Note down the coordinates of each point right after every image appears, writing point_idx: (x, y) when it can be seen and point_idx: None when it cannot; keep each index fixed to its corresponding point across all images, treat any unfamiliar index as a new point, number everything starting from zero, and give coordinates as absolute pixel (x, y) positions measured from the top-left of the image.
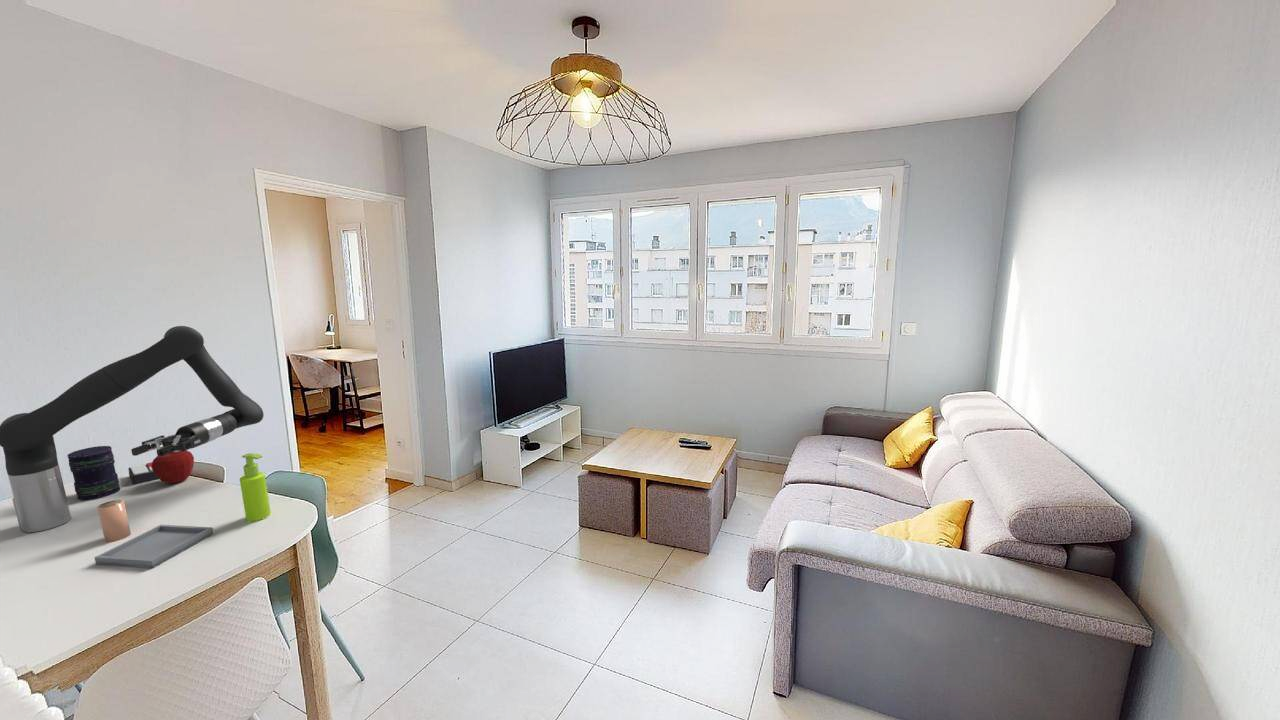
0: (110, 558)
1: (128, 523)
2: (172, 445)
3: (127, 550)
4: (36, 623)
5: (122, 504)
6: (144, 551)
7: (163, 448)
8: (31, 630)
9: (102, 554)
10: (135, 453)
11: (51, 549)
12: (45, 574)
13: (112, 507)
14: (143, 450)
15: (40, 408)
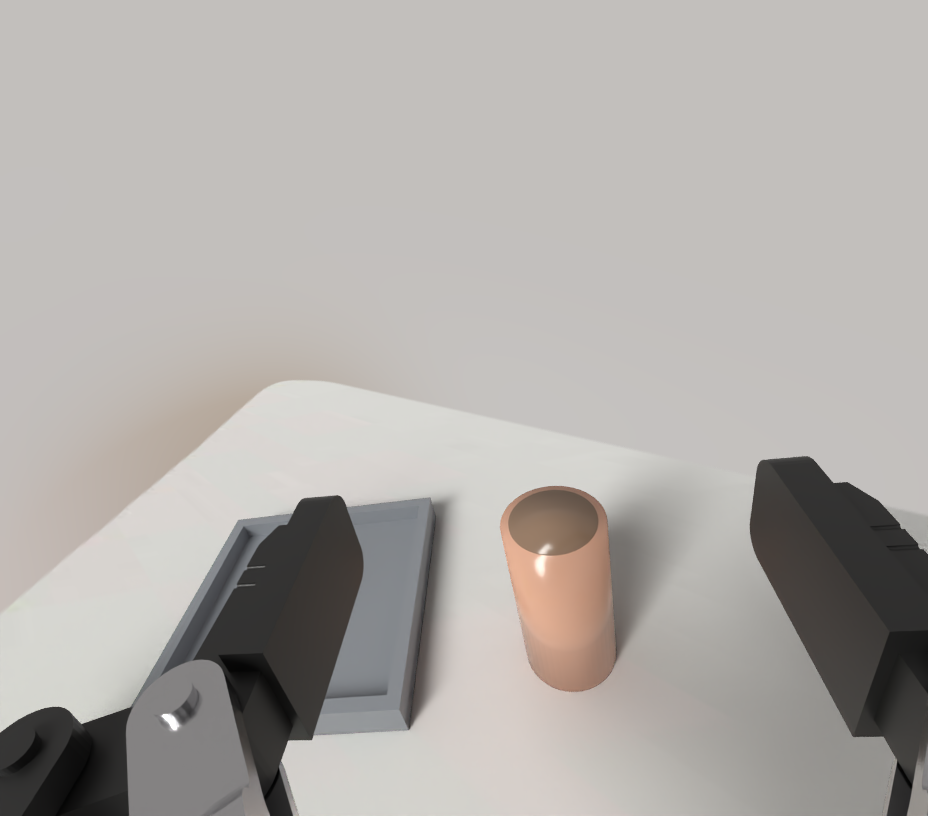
0: (373, 504)
1: (535, 644)
2: (207, 668)
3: (391, 564)
4: (350, 405)
5: (504, 547)
6: None
7: (280, 542)
8: (341, 399)
9: (421, 510)
10: (755, 524)
11: (722, 537)
12: (529, 467)
13: (506, 510)
14: (817, 625)
15: None
